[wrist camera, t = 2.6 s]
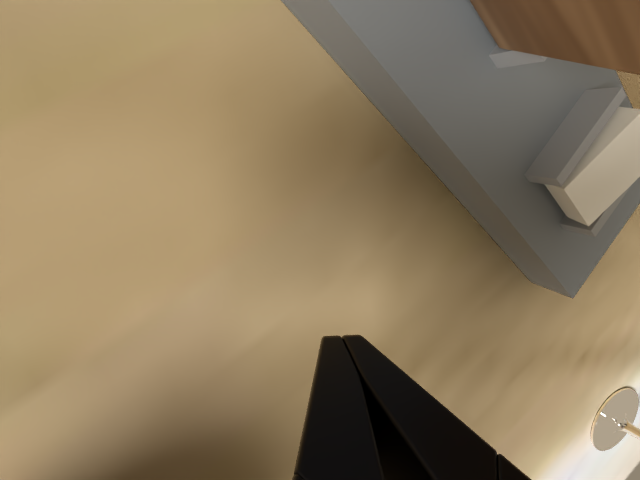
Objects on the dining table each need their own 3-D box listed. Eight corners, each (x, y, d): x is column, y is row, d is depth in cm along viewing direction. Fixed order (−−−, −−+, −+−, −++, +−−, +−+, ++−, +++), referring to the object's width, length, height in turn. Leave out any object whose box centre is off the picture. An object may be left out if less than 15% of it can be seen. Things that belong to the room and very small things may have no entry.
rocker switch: (567, 216, 23) (588, 226, 21) (542, 181, 21) (563, 189, 20) (636, 148, 22) (663, 153, 21) (616, 106, 20) (643, 109, 19)
